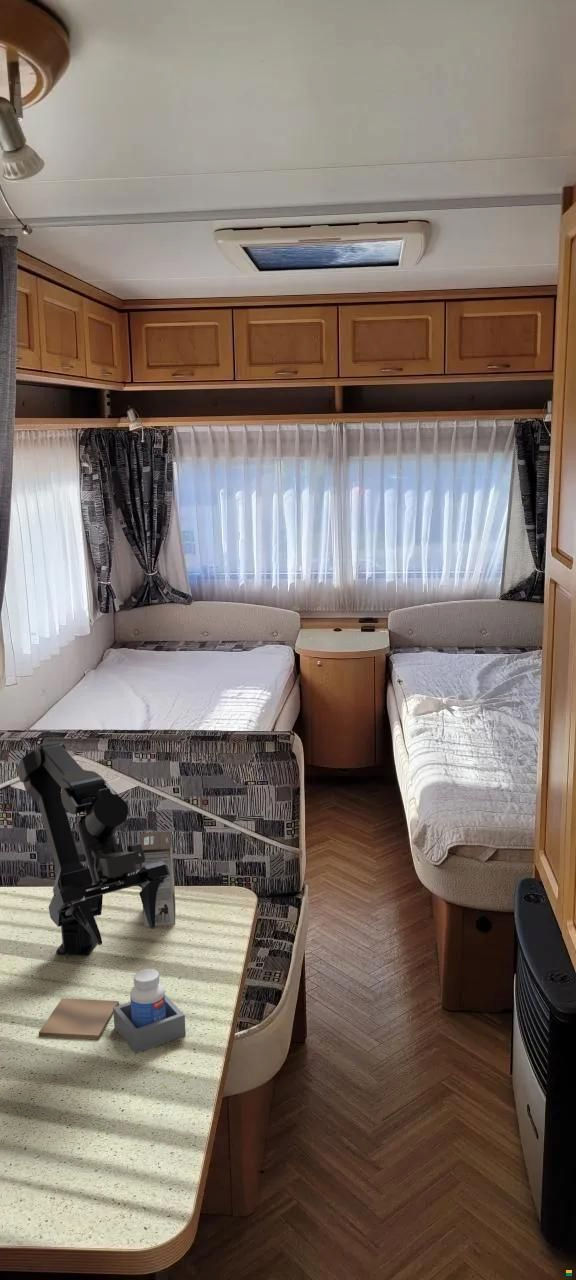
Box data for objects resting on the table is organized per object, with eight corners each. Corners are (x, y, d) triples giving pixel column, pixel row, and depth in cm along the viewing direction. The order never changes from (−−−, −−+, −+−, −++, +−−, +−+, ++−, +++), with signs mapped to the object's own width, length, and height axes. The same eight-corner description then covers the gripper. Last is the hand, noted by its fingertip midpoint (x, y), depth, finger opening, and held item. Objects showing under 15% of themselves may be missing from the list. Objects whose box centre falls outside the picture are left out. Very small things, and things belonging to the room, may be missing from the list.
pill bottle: (160, 1042, 152) (156, 985, 150) (127, 1039, 153) (123, 983, 152) (171, 1023, 158) (167, 967, 156) (139, 1020, 159) (135, 965, 157)
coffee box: (144, 906, 200) (139, 832, 197) (176, 904, 200) (171, 830, 197) (143, 927, 191) (137, 849, 188) (176, 924, 191) (171, 847, 188)
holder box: (114, 1027, 157) (112, 1007, 156) (163, 1010, 161) (161, 991, 161) (135, 1053, 150) (133, 1032, 149) (185, 1035, 154) (184, 1014, 153)
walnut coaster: (62, 1001, 165) (61, 998, 165) (118, 1004, 164) (118, 1001, 163) (39, 1035, 155) (38, 1032, 155) (99, 1039, 154) (98, 1035, 154)
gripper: (57, 844, 154) (84, 940, 148) (165, 818, 163) (194, 907, 158) (43, 865, 162) (68, 957, 157) (146, 840, 172) (173, 925, 166)
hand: (127, 936), depth 159 cm, fingers open, 9 cm apart
